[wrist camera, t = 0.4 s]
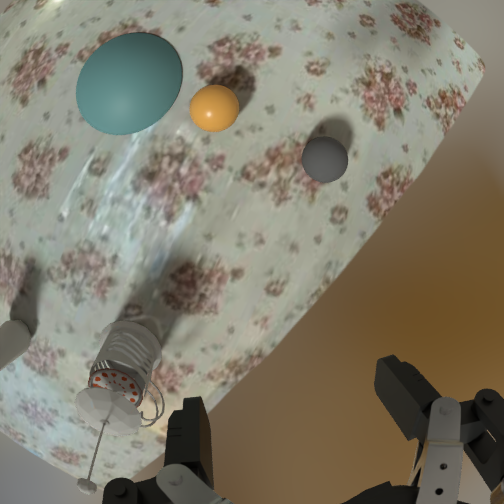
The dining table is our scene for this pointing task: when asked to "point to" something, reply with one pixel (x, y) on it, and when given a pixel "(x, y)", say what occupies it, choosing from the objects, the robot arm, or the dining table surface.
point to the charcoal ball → (324, 159)
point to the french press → (119, 384)
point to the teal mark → (128, 83)
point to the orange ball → (214, 108)
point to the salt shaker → (13, 341)
